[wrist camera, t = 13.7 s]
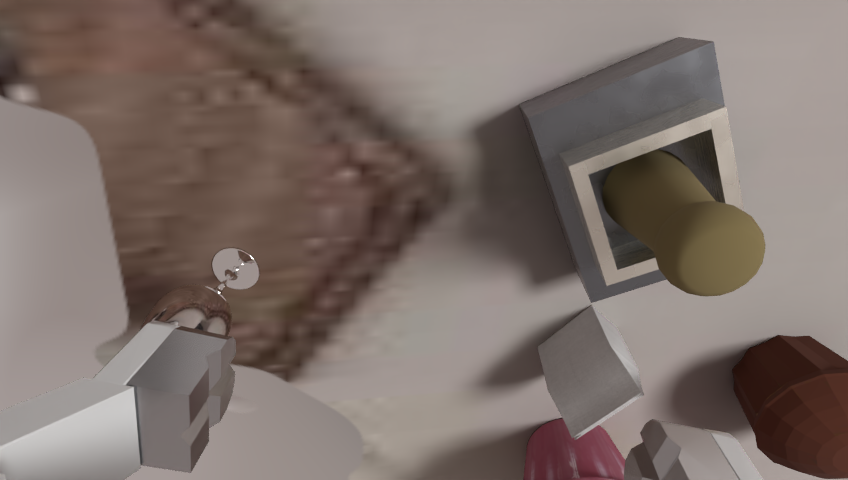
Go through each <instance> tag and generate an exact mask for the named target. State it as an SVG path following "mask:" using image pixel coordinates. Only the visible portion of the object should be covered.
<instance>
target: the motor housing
mask: <svg viewBox="0 0 848 480" xmlns="http://www.w3.org/2000/svg"><path fill="white" fill-rule="evenodd" d="M519 106H520V109H521V112H522V115H523V118H524V120H525V123H526V126H527V129H528V132H529V135H530V138H531V141H532V144H533V147H534V149H535V152H536V155H537V158H538V161H539V164H540V167H541V170H542V173H543V175H544V178H545V181H546V184H547V187H548V190H549V193H550V196H551V199H552V202H553V204H554V207H555V210H556V213H557V216H558V219H559V222H560V225H561V228H562V230H563V233H564V236H565V239H566V242H567V245H568V248H569V251H570V254H571V256H572V259H573V262H574V265H575V268H576V271H577V273H578V276H579V278H580V280H581V282H582V284H583V286H584V288H585V291H586V293H587V295H588V297H589V299H590V301H591V303H592V302H596V301H599V300H602V299H605V298H608V297H612V296H615V295H618V294H621V293H624V292H628V291H631V290H634V289H637V288H640V287H644V286H647V285H650V284H653V283H656V282H660V281H663V280H666V277H665V276H664V275H663V274H662V272H661V271H660V270H659V268H658V265H657V261H656V258H655V254H654V251H652V250H651V249H650V248H648V247H647V246H646V245H644V244H643V243H642V242H641V241H639V240H638V239H637V238H635V237H634V236H633V235H632V234H630V233H629V232H628V231H626V230H625V229H624V228H623V227H621V226H620V225H619V224H617V223H616V222H615V221H613V219H612V218H611V217H610V216H609V215H608V213H607V212H606V210H605V207H604V204H603V201H602V198H603V187H604V184H605V181H606V179H607V176H608V175H609V173H610V172H611V171H612V170H613V168H614V167H615V166H616V165H617V164H618V163H621V162H623V161H626V160H629V159H631V158H634V157H637V156H639V155H642V154H645V153H648V152H650V151H653V150H656V149H659V150H664V151H668V152H671V153H672V154H674V155H676V156H677V157H679V158H680V159H681V160H682V161H683V162H684V164H685V165H686V166H687V167H688V168H689V170H690V171H691V172H692V173H693V174H694V175H695V177H696V178H697V179H698V180H699V181H700V183H701V184H702V185H703V186H704V187H705V189H706V190H707V191H708V192H709V193H710V195H711V196H712V197H713V198H714V199H715V200H716V202H721V203H726V204H730V205H734V206H736V207H737V208H739V209H741V210H742V211H744V208H743V202H742V196H741V190H740V184H739V179H738V173H737V167H736V161H735V155H734V149H733V143H732V138H731V132H730V126H729V120H728V114H727V108H726V106H725V105H724V99H723V93H722V88H721V82H720V76H719V70H718V64H717V59H716V53H715V47H714V42H712V41H705V40H697V39H690V38H682V37H679V38H676V39H674V40H672V41H669V42H667V43H664V44H662V45H660V46H657V47H655V48H652V49H650V50H648V51H645V52H643V53H640V54H638V55H636V56H633V57H631V58H629V59H626V60H624V61H621V62H619V63H617V64H614V65H612V66H609V67H607V68H605V69H602V70H600V71H597V72H595V73H593V74H590V75H588V76H586V77H583V78H581V79H578V80H576V81H574V82H571V83H569V84H566V85H564V86H562V87H559V88H557V89H555V90H552V91H550V92H547V93H545V94H543V95H540V96H538V97H535V98H533V99H531V100H528V101H526V102H523V103H521V104H519Z"/></svg>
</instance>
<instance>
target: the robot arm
mask: <svg viewBox="0 0 848 480" xmlns="http://www.w3.org/2000/svg"><path fill="white" fill-rule="evenodd" d="M235 354H236V351H235V339H234V338H233V337H230V336H225V335H221V334H216V333H212V332H207V331H203V330H198V329H194V328H189V327H184V326H177V325H173V324H168V323H164V322H159V321H152V322H149V323H147V324H146V325H145V326H144V327H143V328H142V329H141V330H140V331H139V332H138V333H137V334H136V335H135V336H134V337H133V338H132V339H131V340H130V341H129V342H128V343H127V344H126V345H125V346H124V347H123V348H122V349H121V350H120V351H119V352H118V353H117V354H116V355H115V356H114V357H113V358H112V359H111V360H110V361H109V362H108V363H107V364H106V365H105V366H104V367H103V369H102V370H101V371H100V372H99V373H98V374H97V375H96V376H95V377H94V378H93V379H89V378H84V377H83V378H81V379H78V380H76V381H73V382H71V383H68V384H66V385H64V386H61V387H59V388H56V389H54V390H51V391H49V392H46V393H44V394H41V395H39V396H36V397H34V398H31V399H29V400H26V401H24V402H21V403H19V404H16V405H14V406H11V407H9V408H6V409H4V410H1V411H0V480H125V479H126V478H127V477H129V476H130V475H132V474H133V473H135V472H136V471H137V470H139V469H140V468H141V465H143V466H149V467H156V468H162V469H169V470H175V471H182V472H188V473H191V472H192V470H193V468H194V466H195V465H196V463H197V461H198V459H199V458H200V456H201V454H202V452H203V451H204V449H205V447H206V445H207V444H208V442H209V428H210V427H212V426H214V425H215V424H217V423H219V422H220V421H221V419H222V417H223V415H224V413H225V411H226V410H227V407H228V404H229V401H230V399H231V396H232V392H233V387H234V381H235V372H234V371H233V369H232V367H231V366H230V365H229V364H230V362H231V361H232V359H233V357H234V356H235ZM640 434H641V436H642V439H643V443H641V444H639V445H637V446H635V447H634V448H632V449H631V450H630V452H629V454H628V456H627V458H626V460H625V468H624V480H763V478H762V477H761V475H760V474H759V472H758V471H757V469H756V468H755V466H754V465H753V463H752V462H751V460H750V459H749V457H748V456H747V454H746V453H745V451H744V450H743V448H742V447H741V445H740V444H739V442H738V441H737V439H736V438H735V437H733V436H732V435H731V434H729V433H726V432H721V431H715V430H709V429H704V428H703V429H700V428H696V427H691V426H685V425H680V424H675V423H669V422H664V421H659V420H654V419H652V420H650V421H649V422H647V423H646V424H645V426H644V427H643V429H642V431H641V433H640Z"/></svg>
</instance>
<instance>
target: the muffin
mask: <svg viewBox="0 0 848 480" xmlns="http://www.w3.org/2000/svg"><path fill="white" fill-rule="evenodd" d="M732 371H733V376H734V392H735V394H736V396H737V398H738V400H739V402H740V404H741V406H742V408H743V411H744V413H745V415H746V417H747V419H748V421H749V423H750V425H751V427H752V429H753V431H754V433H755V436H756V442H757V448H758V449H760V450H761V451H762V452H763V453H764V454H765V455H766V456H767V457H768V458H769V459H770V460H772V461H773V462H774V463H777V464H780V465H783V466H785V467H788V468H790V469H793V470H796V471H799V472H802V473H805V474H809V475H813V476H816V477H820V478H825V479H840V478H848V361H847V360H845V359H844V358H842V357H841V356H839V355H838V354H836V353H835V352H833V351H832V350H830V349H829V348H827V347H825V346H824V345H822V344H821V343H819V342H818V341H816V340H815V339H813V338H812V337H810V336H798V337H791V336H782V335H778V336H776V337H774V338H772V339H770V340H768V341H766V342H765V343H762V344H759V345H757V346H754V347H751V348H749V349H748V350H747V352H746V354H745V355H744V357H743V358H742V360H741V361H740V362H739V363H738V364H737V365H736V366H735V367H734V368H733V369H732Z"/></svg>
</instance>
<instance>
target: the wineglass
mask: <svg viewBox="0 0 848 480" xmlns="http://www.w3.org/2000/svg"><path fill="white" fill-rule="evenodd" d="M212 269H213V272H214V274H215V276H216V277H217V279H218V280H219V281H220V282H221V283H220V284H219V285H218V286H217V287H216V288H213V289H212V288H210V287H207V286H203V285H196V284H191V285H184V286H181V287H178V288H175V289H173V290H172V291H170V292H169V293H167V294H166V295H164V296H163V297H162V298H161V299H160V300H159V301H158V302H157V303H156V304H155V306H154V307H153V308H152V310H151V311H150V312H149V314H148V315H147V317H146V319H145V320H144V322H143V324H142V326H141V328H140V330H141V329H142V328H143V327H144V326H145V325H146V324H147V323H149V322H152V321H159V322H164V323H168V324H173V325H177V326H184V327H189V328H194V329H198V330H203V331H207V332H212V333H216V334H221V335H225V336H228V334H229V332H230V330H231V326H232V312H231V309H230V306H229V304H228V302H227V301H226V299H225V298H224V297H223V296H222V291H223V289H224V287H225V286H228V287H230V288H233V289H238V290H242V289H247V288H250V287H252V286H253V285H254V284H255V283H256V282H257V281H258V278H259V274H260V271H259V267H258V264H257V262H256V261H255V259H254V258H253V257H252V256H251V255H250V254H248V253H247V252H245V251H243V250H241V249H237V248H225V249H223V250H220V251H219V252H218V253H216V255H215V256H214V258H213V261H212ZM140 330H139V331H140Z"/></svg>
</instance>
